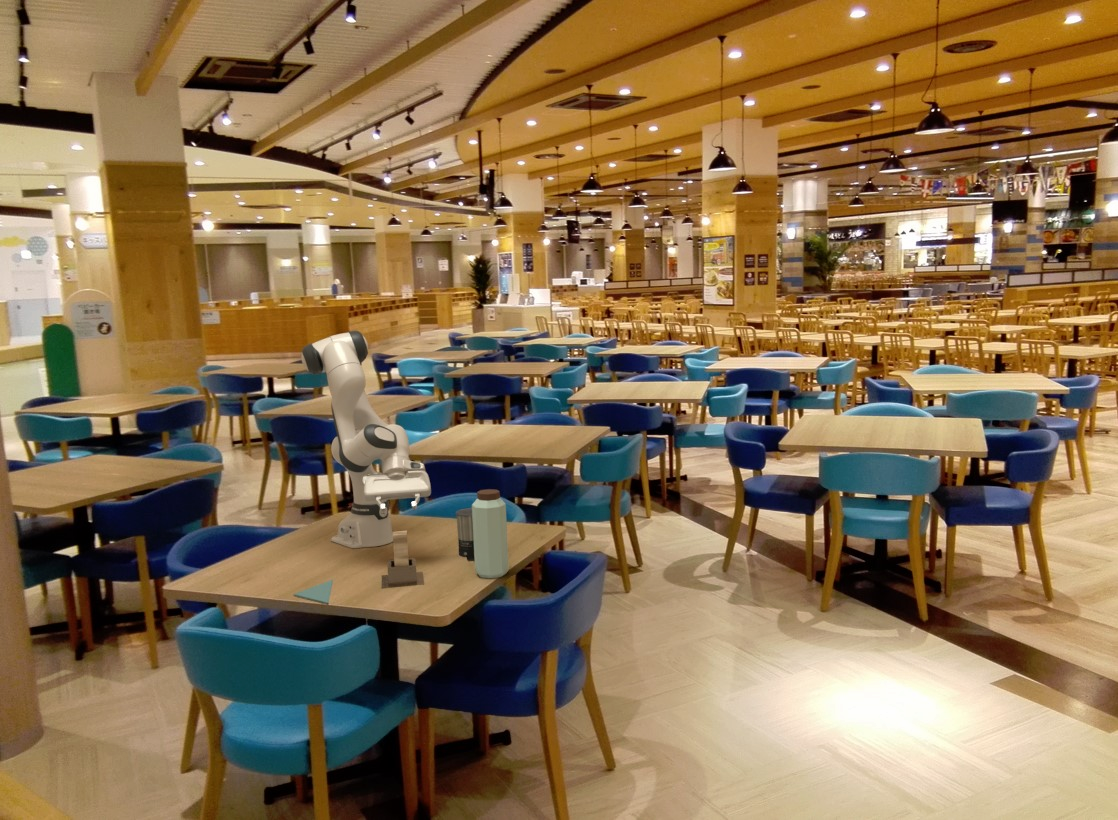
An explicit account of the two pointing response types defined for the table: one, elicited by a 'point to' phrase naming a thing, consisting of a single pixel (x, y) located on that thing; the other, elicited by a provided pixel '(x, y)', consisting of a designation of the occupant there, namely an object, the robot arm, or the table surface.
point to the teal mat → (317, 592)
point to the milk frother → (465, 533)
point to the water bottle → (490, 534)
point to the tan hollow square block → (402, 575)
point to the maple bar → (400, 548)
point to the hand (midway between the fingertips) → (398, 509)
